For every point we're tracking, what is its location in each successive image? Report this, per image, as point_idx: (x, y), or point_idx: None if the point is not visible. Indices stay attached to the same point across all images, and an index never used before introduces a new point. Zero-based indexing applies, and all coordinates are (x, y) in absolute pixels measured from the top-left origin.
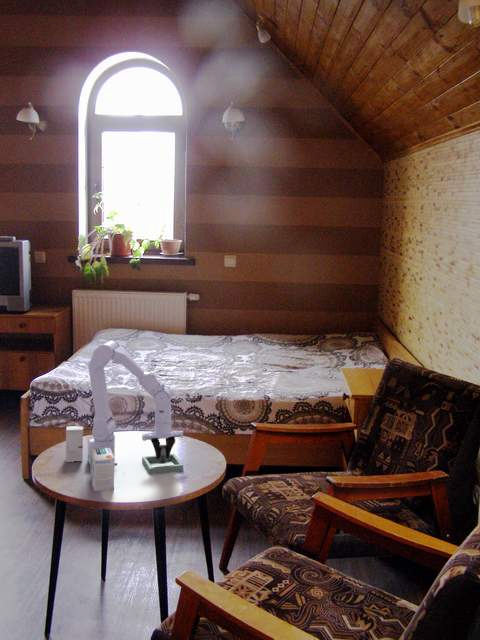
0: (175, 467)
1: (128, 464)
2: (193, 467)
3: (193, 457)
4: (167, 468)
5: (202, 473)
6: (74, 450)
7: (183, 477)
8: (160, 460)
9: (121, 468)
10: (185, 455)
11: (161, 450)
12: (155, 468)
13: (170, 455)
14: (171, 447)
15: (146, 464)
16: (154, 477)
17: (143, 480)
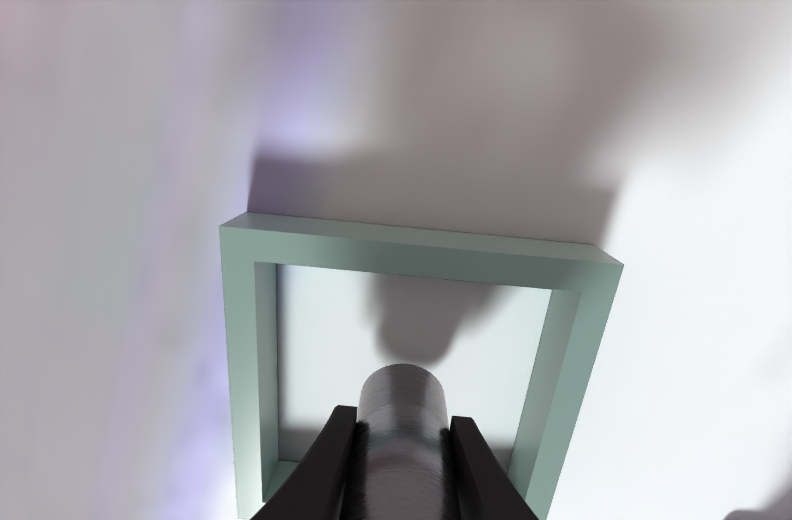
0: (318, 230)
1: (644, 495)
2: (127, 250)
3: (92, 448)
4: (411, 239)
5: (53, 51)
6: None
7: (293, 15)
8: (437, 399)
9: (741, 447)
10: (151, 500)
11: (440, 502)
12: (554, 257)
13: None
14: (269, 513)
15: (575, 399)
16: (591, 145)
17: (739, 107)
